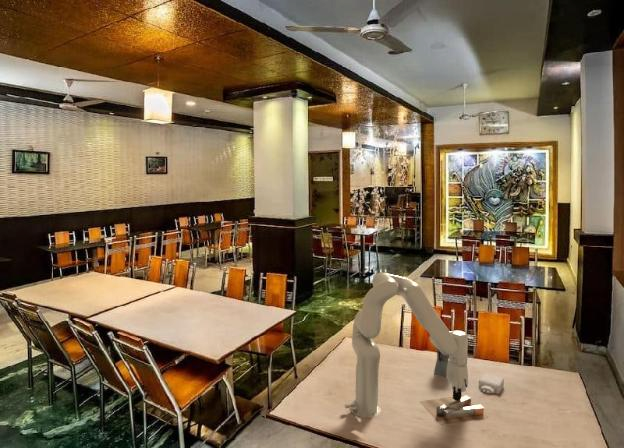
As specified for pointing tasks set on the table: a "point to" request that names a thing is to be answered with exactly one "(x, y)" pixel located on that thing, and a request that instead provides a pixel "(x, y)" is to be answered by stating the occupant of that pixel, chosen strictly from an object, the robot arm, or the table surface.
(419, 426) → the table surface
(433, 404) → the board
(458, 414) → the bar
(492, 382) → the charger
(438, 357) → the moka pot
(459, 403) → the tong leg
